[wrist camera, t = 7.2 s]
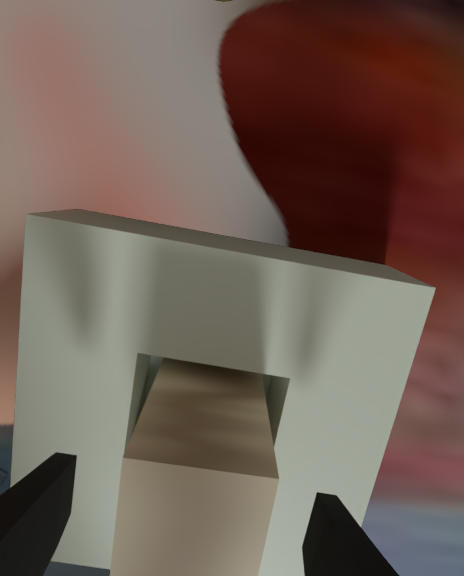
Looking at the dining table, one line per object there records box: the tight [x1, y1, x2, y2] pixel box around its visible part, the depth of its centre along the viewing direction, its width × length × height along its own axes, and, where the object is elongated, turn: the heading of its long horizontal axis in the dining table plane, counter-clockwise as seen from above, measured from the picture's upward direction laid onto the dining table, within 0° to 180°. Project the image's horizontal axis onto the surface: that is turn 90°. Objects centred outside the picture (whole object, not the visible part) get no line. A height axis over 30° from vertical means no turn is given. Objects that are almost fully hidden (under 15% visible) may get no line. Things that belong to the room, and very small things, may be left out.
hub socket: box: [10, 209, 436, 576], centre depth 17 cm, size 14×14×4 cm
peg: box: [110, 357, 279, 576], centre depth 14 cm, size 4×4×8 cm
